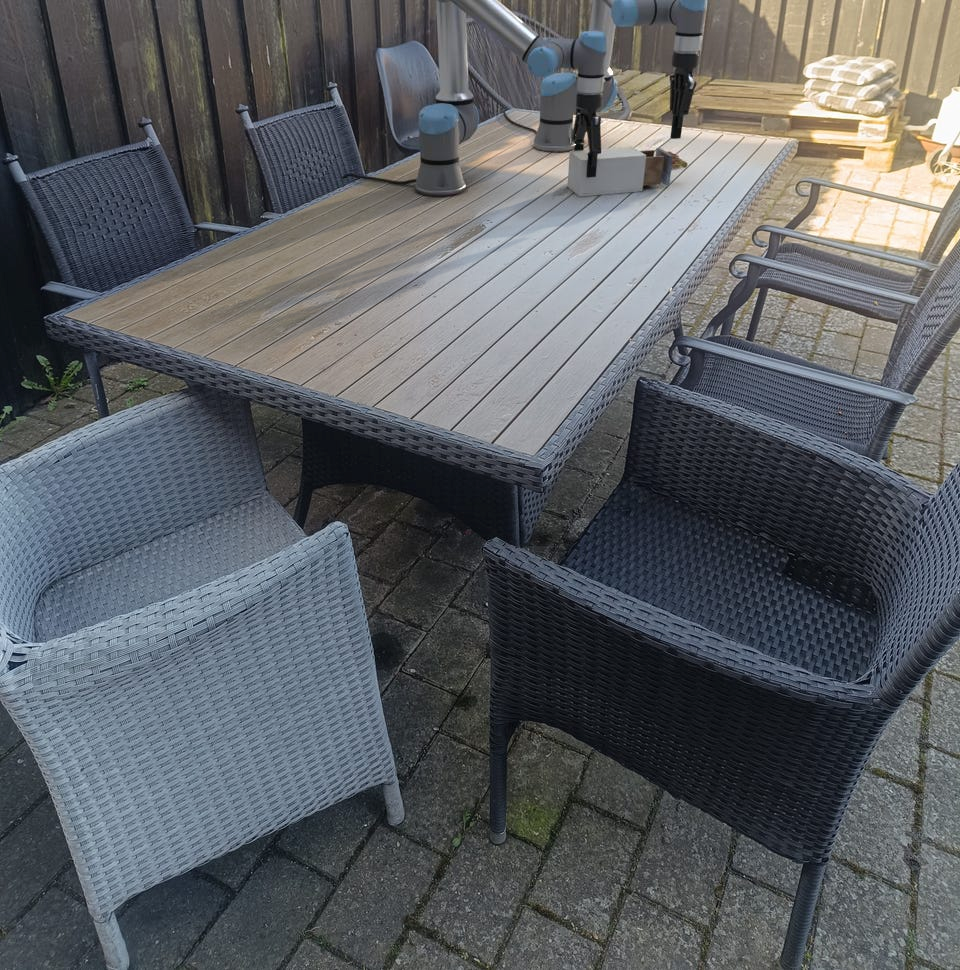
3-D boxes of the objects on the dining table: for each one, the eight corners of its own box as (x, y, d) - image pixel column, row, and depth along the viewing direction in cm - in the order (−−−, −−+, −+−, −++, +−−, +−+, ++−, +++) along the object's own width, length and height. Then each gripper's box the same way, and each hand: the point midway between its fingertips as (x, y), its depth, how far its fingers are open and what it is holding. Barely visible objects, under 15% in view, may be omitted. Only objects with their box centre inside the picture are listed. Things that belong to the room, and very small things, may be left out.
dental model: (673, 148, 282) (683, 154, 275) (672, 161, 284) (682, 167, 278) (657, 149, 281) (667, 156, 274) (656, 162, 283) (666, 169, 277)
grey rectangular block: (628, 181, 265) (632, 146, 259) (642, 191, 257) (646, 155, 251) (567, 186, 261) (569, 151, 255) (579, 196, 253) (581, 160, 247)
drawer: (674, 175, 268) (678, 146, 262) (687, 183, 260) (691, 154, 255) (599, 181, 262) (601, 152, 257) (610, 190, 255) (613, 160, 250)
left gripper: (617, 100, 233) (610, 181, 246) (587, 84, 251) (582, 160, 264) (592, 101, 232) (586, 183, 244) (563, 85, 250) (559, 162, 263)
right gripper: (709, 54, 238) (696, 142, 251) (688, 47, 248) (677, 132, 262) (684, 56, 236) (673, 144, 250) (664, 48, 246) (655, 133, 260)
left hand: (584, 171), depth 254 cm, fingers closed on grey rectangular block, 10 cm apart
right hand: (675, 138), depth 256 cm, fingers closed
